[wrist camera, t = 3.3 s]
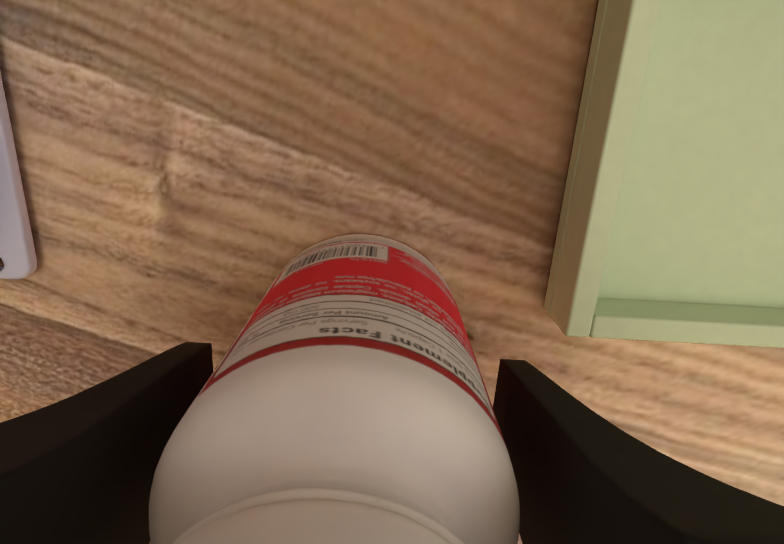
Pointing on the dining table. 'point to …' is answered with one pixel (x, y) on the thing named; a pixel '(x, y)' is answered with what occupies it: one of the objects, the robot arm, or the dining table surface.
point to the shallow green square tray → (676, 178)
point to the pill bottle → (342, 417)
